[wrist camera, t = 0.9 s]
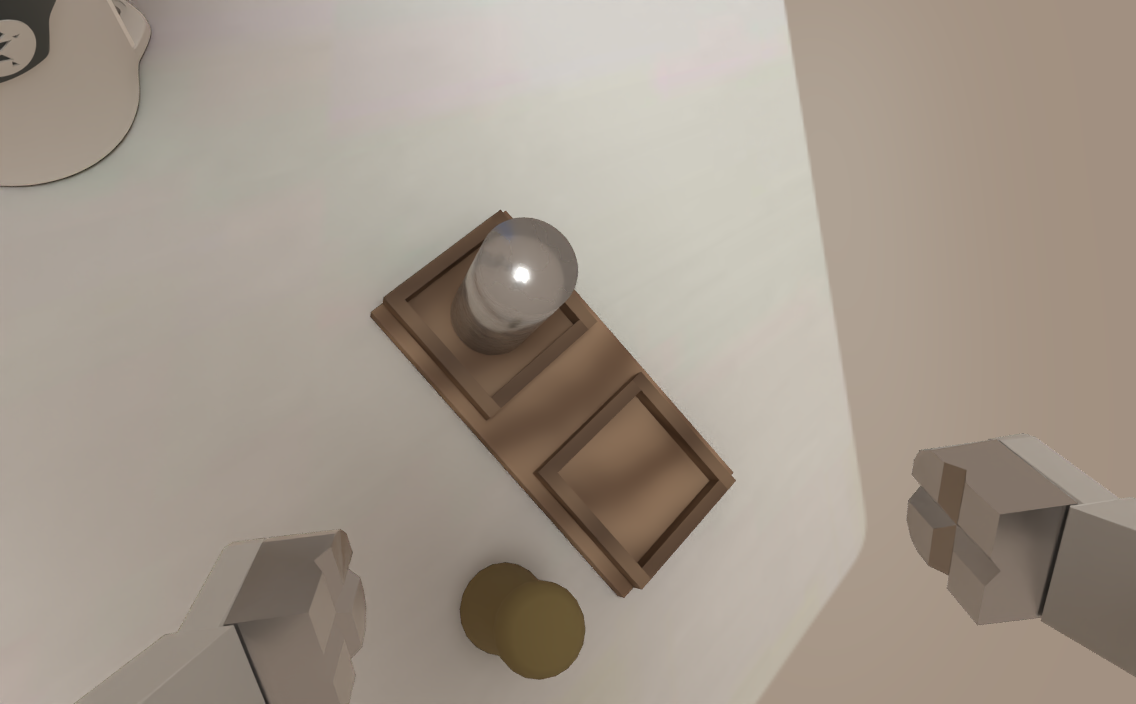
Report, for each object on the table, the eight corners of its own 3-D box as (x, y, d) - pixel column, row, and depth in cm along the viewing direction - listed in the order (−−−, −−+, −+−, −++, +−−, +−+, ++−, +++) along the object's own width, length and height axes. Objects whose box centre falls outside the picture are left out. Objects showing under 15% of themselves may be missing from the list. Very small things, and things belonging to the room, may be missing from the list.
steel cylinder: (433, 308, 49) (457, 255, 39) (494, 261, 52) (531, 198, 41) (488, 371, 50) (527, 335, 39) (546, 321, 52) (597, 274, 42)
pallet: (370, 316, 49) (372, 305, 47) (502, 216, 54) (510, 202, 51) (617, 596, 50) (632, 600, 48) (725, 473, 55) (743, 471, 52)
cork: (546, 562, 49) (600, 575, 39) (544, 653, 48) (599, 691, 37) (462, 562, 47) (495, 575, 37) (457, 656, 46) (490, 697, 36)
